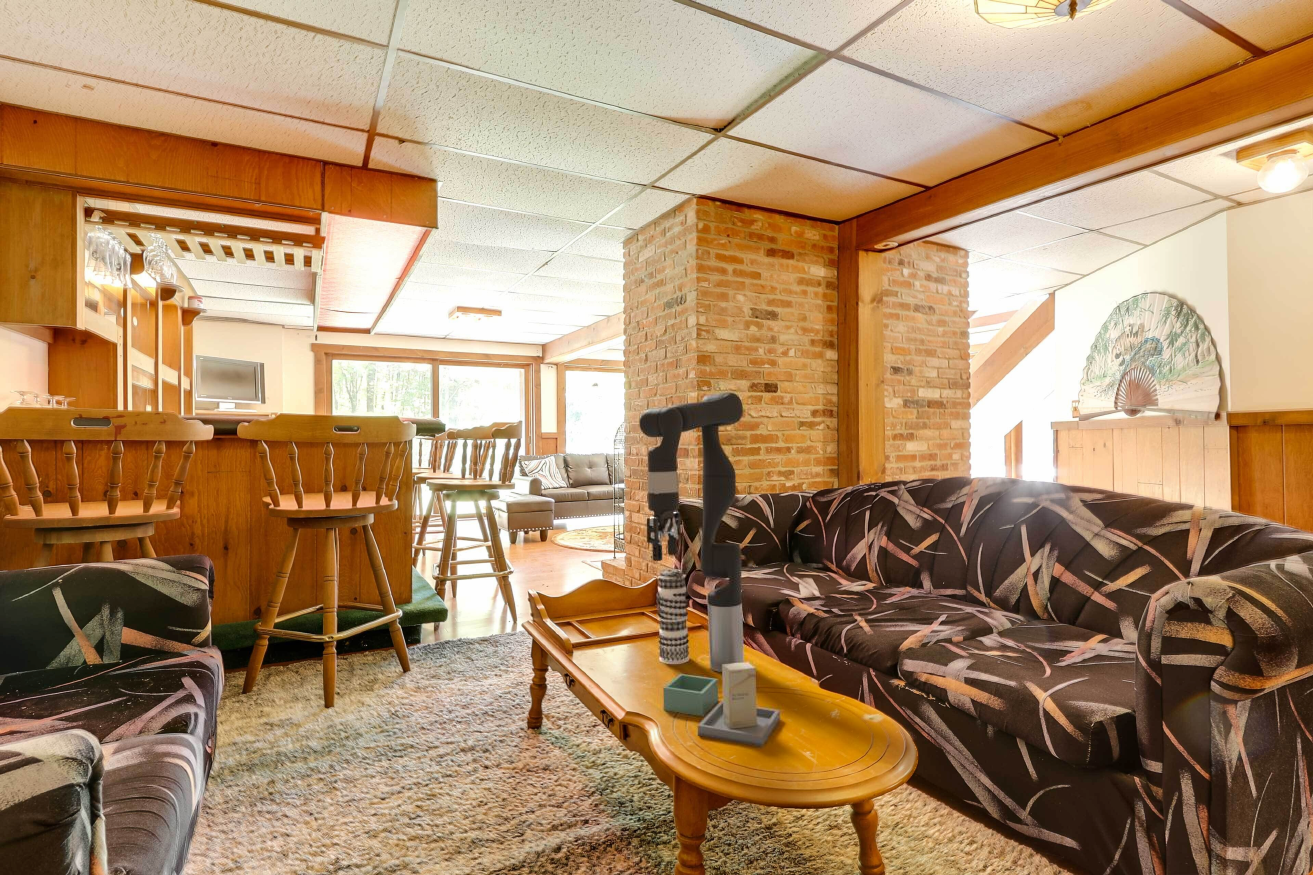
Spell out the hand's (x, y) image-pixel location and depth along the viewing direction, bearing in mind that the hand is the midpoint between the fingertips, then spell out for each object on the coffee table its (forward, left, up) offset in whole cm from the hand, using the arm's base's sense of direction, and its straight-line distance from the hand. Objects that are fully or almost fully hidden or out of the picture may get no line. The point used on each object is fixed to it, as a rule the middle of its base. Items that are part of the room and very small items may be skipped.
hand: (665, 557), depth 151 cm
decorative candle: (-25, -10, -33) cm, 43 cm away
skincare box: (+10, +21, -33) cm, 40 cm away
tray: (+10, +21, -33) cm, 40 cm away
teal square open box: (+3, +7, -33) cm, 34 cm away
